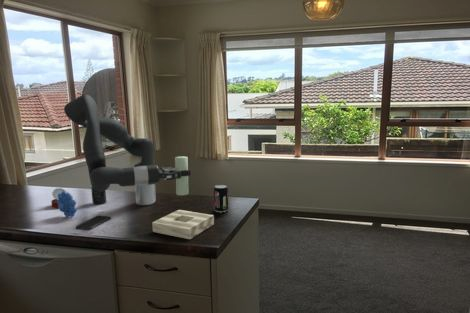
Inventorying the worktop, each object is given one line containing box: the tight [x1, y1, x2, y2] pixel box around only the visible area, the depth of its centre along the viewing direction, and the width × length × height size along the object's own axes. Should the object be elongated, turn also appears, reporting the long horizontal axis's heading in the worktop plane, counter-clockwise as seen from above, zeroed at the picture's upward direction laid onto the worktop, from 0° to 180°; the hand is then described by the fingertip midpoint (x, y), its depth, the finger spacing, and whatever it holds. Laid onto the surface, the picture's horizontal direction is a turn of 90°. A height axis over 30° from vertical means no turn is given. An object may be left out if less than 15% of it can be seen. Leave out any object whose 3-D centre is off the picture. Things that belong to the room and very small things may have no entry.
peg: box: [174, 155, 190, 196], centre depth 146 cm, size 5×5×15 cm
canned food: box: [50, 187, 74, 209], centre depth 184 cm, size 11×10×10 cm
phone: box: [75, 215, 112, 231], centre depth 157 cm, size 8×1×15 cm
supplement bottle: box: [90, 186, 107, 205], centre depth 186 cm, size 7×7×12 cm
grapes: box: [57, 190, 78, 218], centre depth 164 cm, size 12×7×12 cm, turn 62°
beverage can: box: [213, 184, 229, 214], centre depth 170 cm, size 7×7×12 cm
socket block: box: [152, 209, 215, 240], centre depth 149 cm, size 18×18×4 cm
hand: (188, 171), depth 147 cm, fingers closed on peg, 5 cm apart
